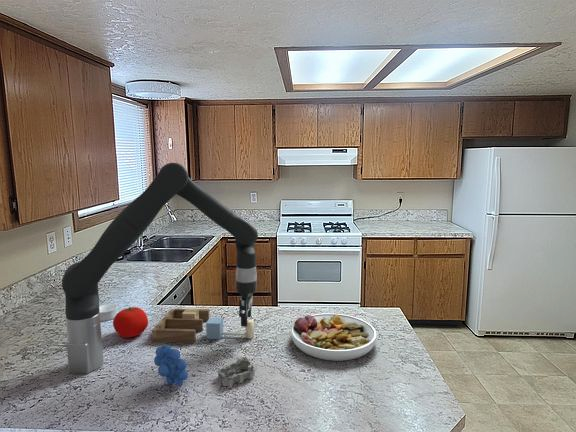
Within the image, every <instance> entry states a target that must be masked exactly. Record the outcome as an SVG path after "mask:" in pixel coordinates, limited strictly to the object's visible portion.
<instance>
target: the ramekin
mask: <svg viewBox="0 0 576 432" xmlns="http://www.w3.org/2000/svg"><path fill="white" fill-rule="evenodd" d="M118 307H119V306H118V304H114V303H113V304H112V303H111V304H110V303H108V304H102V305H99V312H100V322H107V321H113V320H114V318H115V316H116V314H117V313H118Z"/></svg>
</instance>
